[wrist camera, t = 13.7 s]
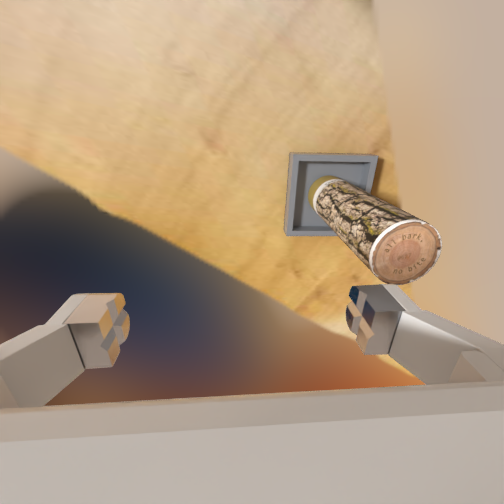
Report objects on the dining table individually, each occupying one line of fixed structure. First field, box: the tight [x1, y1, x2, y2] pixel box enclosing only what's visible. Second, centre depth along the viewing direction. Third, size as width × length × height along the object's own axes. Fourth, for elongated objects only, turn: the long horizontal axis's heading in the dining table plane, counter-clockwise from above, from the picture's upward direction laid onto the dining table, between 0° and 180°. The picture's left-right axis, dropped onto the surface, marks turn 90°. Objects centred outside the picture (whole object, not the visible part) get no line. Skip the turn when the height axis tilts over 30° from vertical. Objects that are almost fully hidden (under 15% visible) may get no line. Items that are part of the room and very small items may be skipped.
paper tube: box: [308, 175, 442, 285], centre depth 37 cm, size 7×7×25 cm
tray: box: [284, 152, 378, 236], centre depth 47 cm, size 14×14×3 cm
